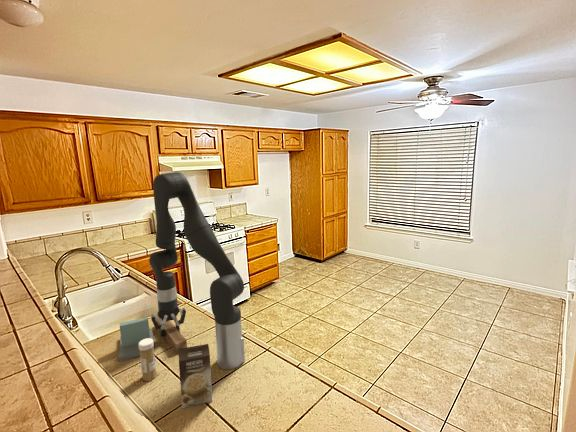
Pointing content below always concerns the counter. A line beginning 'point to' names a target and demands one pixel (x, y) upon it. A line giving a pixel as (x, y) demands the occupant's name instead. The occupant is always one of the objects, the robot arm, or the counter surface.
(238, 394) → the counter surface
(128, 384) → the counter surface
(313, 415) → the counter surface
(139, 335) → the ridge stand
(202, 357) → the coffee box
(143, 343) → the sprinkles bottle
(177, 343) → the walnut bar
